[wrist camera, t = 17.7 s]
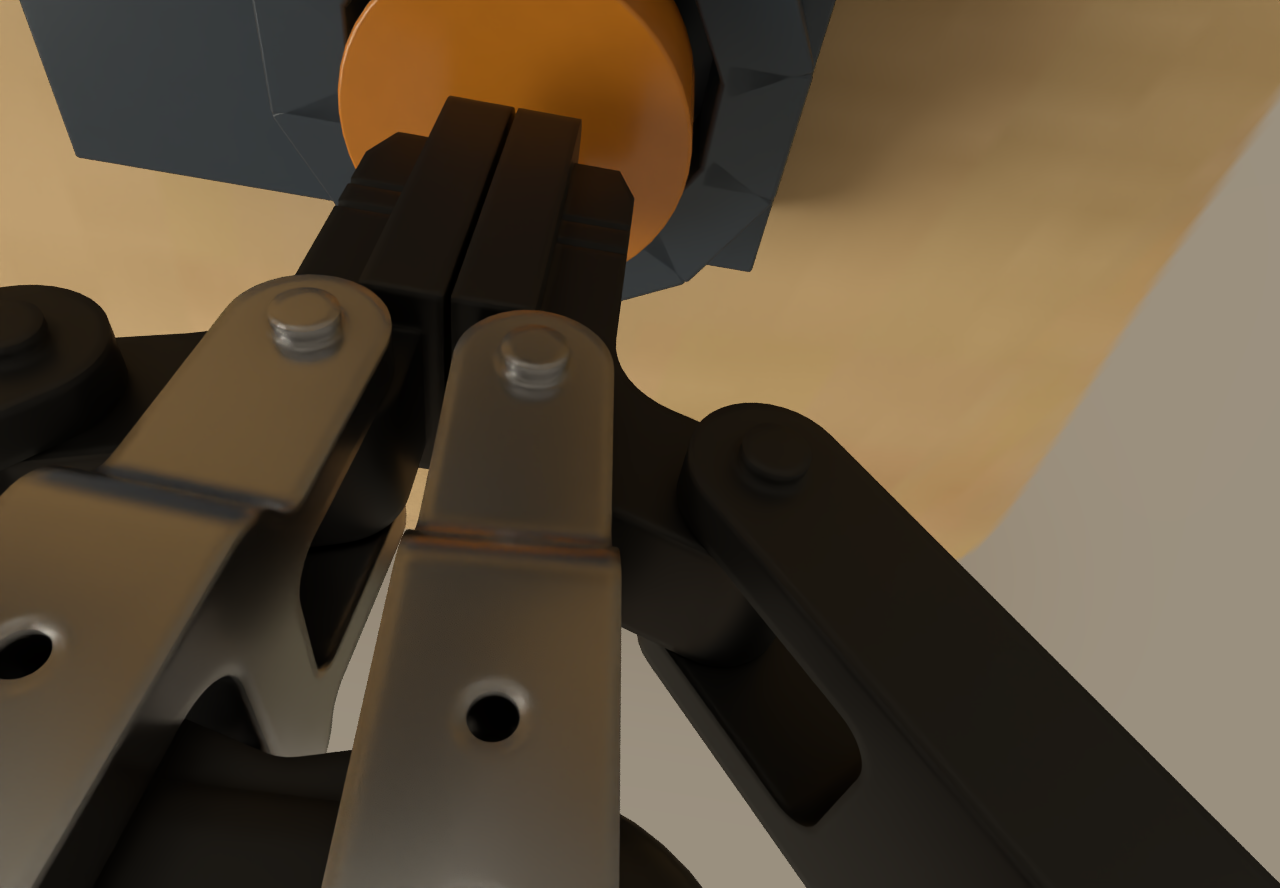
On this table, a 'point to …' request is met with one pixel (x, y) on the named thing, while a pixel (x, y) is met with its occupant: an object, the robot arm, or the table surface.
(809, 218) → the table surface
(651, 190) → the button
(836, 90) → the table surface
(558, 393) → the robot arm
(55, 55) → the button box
